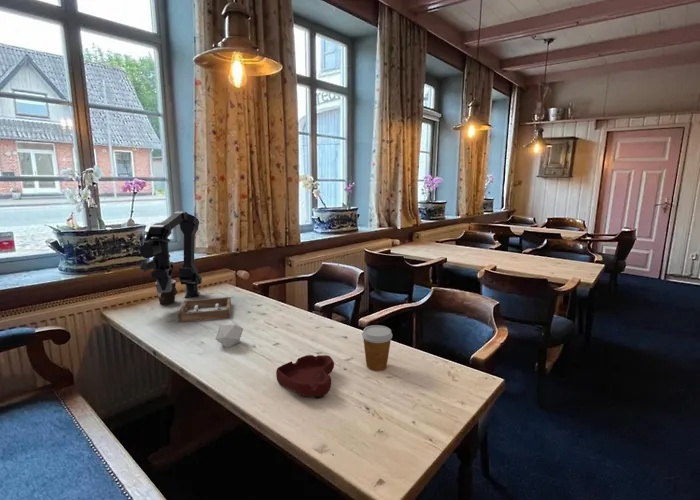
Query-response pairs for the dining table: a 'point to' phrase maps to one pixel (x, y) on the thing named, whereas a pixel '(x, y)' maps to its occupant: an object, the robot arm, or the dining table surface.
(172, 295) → the coffee mug
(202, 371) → the dining table surface
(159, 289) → the grey block
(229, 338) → the die
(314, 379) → the ashtray
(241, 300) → the dining table surface
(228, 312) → the wooden serving tray
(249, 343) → the dining table surface
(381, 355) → the disposable coffee cup
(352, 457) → the dining table surface
